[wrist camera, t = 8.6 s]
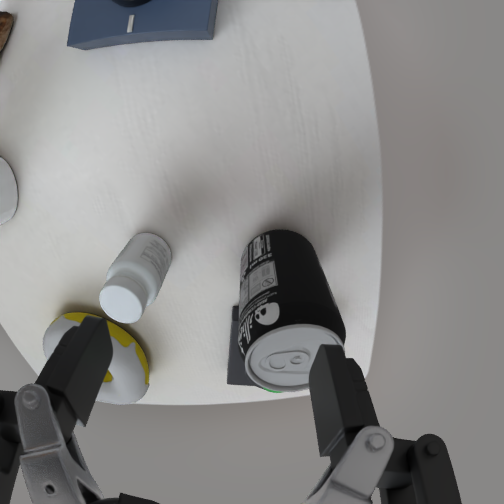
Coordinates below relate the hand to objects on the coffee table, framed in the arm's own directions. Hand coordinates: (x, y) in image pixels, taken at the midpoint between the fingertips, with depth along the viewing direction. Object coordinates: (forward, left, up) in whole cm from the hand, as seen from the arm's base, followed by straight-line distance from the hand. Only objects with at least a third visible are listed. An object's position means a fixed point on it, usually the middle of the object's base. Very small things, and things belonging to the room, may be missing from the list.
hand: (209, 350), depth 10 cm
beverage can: (+4, +5, -16) cm, 17 cm away
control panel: (-18, -8, -16) cm, 25 cm away
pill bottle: (+5, -7, -16) cm, 18 cm away
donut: (+19, -15, -16) cm, 29 cm away
